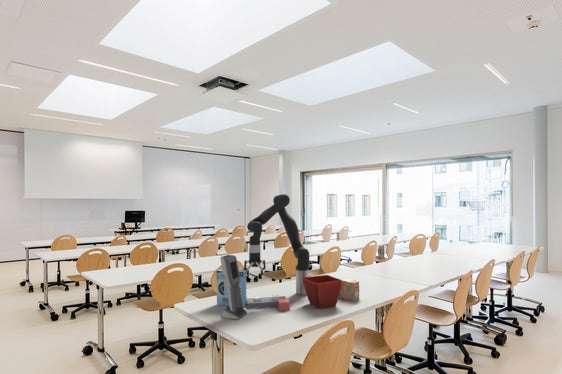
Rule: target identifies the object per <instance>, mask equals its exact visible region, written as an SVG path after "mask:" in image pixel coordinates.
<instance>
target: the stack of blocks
mask: <svg viewBox="0 0 562 374" xmlns="http://www.w3.org/2000/svg"><path fill="white" fill-rule="evenodd" d="M340 280H342V282H341V289H340V294H339V297H338V299H345V300H349V301H354V302H355V301H358V300H360V281H359V280H353V279H349V278H348V279H347V278H341V279H340Z"/></svg>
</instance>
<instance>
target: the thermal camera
mask: <svg viewBox="0 0 562 374" xmlns="http://www.w3.org/2000/svg"><path fill="white" fill-rule="evenodd" d="M220 263H221V268H222V270H223V274H224V278H225V279H224V281H225V282H226V286H227V295H228V301H229V306H226V308H225V309H224V310H223V312H222V313H221V318H223V319H231V320H237V321H238V320H240V319H241V318H243V317H244V316H246V315H247V314H248V313H247V310H246V309H245V308H244V307H243V304H242V299H241V294H240V289H239V284H240V282H241V277H240V273H239V270H240V269H239V265H238V261H237V257H236V256H235V255H233V254H227V255H224V256H220Z"/></svg>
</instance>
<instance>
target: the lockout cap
mask: <svg viewBox="0 0 562 374" xmlns="http://www.w3.org/2000/svg"><path fill="white" fill-rule="evenodd" d="M277 309H278V311H279V312H280V311H281V312H282V311H283V312H284V311H290V310H291V302H290V300H289V299H288V298H287V297H286V299H277Z"/></svg>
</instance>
